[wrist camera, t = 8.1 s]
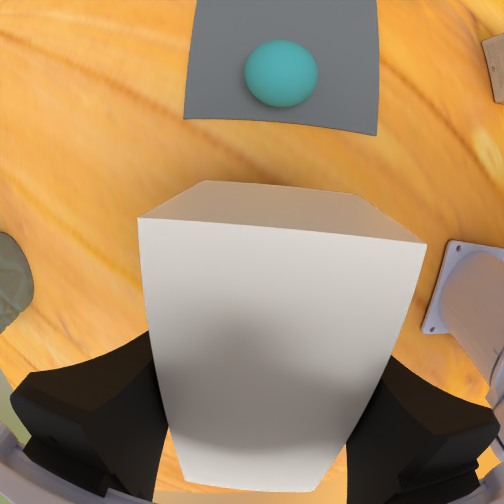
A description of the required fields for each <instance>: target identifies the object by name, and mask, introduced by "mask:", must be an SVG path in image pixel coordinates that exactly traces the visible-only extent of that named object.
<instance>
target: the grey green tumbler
mask: <svg viewBox="0 0 504 504" xmlns="http://www.w3.org/2000/svg"><path fill="white" fill-rule="evenodd" d="M33 294H34V285H33V278H32V274H31V270H30V267H29V264H28V261H27V259H26V257H25V255H24V253H23V251H22V250H21V247H20V246H19V245H18V244H17V243H16V241H15V240H14V239H13V238H11V237H10V236H9V235H7V234H4V233H3V232H0V334H1V333H2V332H3V331H4V330H5V328H6V327H7V326H9V325H10V323H12V322H13V321H14V320H15V319H16V318H17V317H18V315H19V313H20V312H22V311H24V310H25V309H26V308H27V307H28V305H29V304H30V303H31V301H32V298H33Z"/></svg>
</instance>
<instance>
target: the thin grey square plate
mask: <svg viewBox="0 0 504 504" xmlns="http://www.w3.org/2000/svg"><path fill="white" fill-rule="evenodd" d="M273 40H287V41H291V42H294V43H297V44H299V45H301V46H302V47H304V48H305V49H306V50H307V51H308V52H309V53H310V54H311V55H312V56H313V58H314V60H315V62H316V64H317V68H318V82H317V85H316V87H315V89H314V91H313V93H312V94H311V95H310V96H309V97H308V98H307V99H306V100H305V101H303V102H301V103H299V104H297V105H294V106H291V107H274V106H270V105H268V104H265V103H263V102H261V101H260V100H258V99H257V98H256V97H255V96H254V95H253V94H252V93H251V92H250V90H249V88H248V87H247V84H246V82H245V77H244V68H245V64H246V61H247V59H248V57H249V55H250V54H251V53H252V51H254V50H255V49H256V48H257V47H258V46H260V45H262V44H264V43H266V42H269V41H273ZM378 100H379V36H378V17H377V4H376V0H197V5H196V11H195V17H194V24H193V31H192V38H191V45H190V53H189V62H188V71H187V81H186V91H185V103H184V116H183V119H237V120H256V121H271V122H282V123H293V124H302V125H310V126H318V127H325V128H332V129H339V130H345V131H351V132H357V133H362V134H367V135H372V136H376V135H377V120H378Z"/></svg>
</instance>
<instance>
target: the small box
mask: <svg viewBox="0 0 504 504" xmlns="http://www.w3.org/2000/svg"><path fill="white" fill-rule="evenodd" d="M482 46H483V49H484V53H485V56H486V60H487V64H488V68H489V73H490V77H491V82H492V87H493V93H494V98H495V102H496V103H500V104H504V33H502V34H499V35H496V36H494V37H491V38H489V39H486V40H484V41H482Z"/></svg>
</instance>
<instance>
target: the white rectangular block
mask: <svg viewBox="0 0 504 504" xmlns="http://www.w3.org/2000/svg"><path fill="white" fill-rule="evenodd" d="M137 220H138V238H139V252H140V264H141V274H142V284H143V293H144V301H145V308H146V316H147V322H148V329H149V335H150V341H151V347H152V353H153V358H154V363H155V369H156V374H157V378H158V383H159V388H160V392H161V397H162V401H163V405H164V409H165V413H166V417H167V421H168V425H169V429H170V432H171V436H172V440H173V443H174V447H175V450H176V453H177V457H178V460H179V463H180V466H181V469H182V472H183V475H184V478H185V481H188V482H193V483H198V484H204V485H210V486H217V487H224V488H232V489H242V490H253V491H269V492H312V491H313V490H314V489H315V487H316V486H317V485H318V483H319V482H320V481H321V479H322V478H323V476H324V475H325V474H326V472H327V471H328V469H329V468H330V466H331V465H332V463H333V462H334V460H335V459H336V457H337V456H338V454H339V453H340V451H341V449H342V448H343V446H344V445H345V443H346V441H347V440H348V438H349V436H350V435H351V433H352V431H353V429H354V428H355V426H356V424H357V422H358V421H359V419H360V417H361V415H362V413H363V412H364V410H365V408H366V406H367V404H368V402H369V400H370V398H371V396H372V394H373V392H374V390H375V388H376V386H377V384H378V382H379V380H380V378H381V376H382V373H383V371H384V369H385V367H386V365H387V362H388V360H389V358H390V355H391V353H392V351H393V348H394V346H395V343H396V341H397V338H398V336H399V333H400V331H401V328H402V325H403V323H404V320H405V317H406V314H407V312H408V309H409V306H410V303H411V300H412V297H413V294H414V291H415V287H416V284H417V281H418V278H419V274H420V271H421V267H422V264H423V260H424V256H425V252H426V248H427V244H426V243H425V242H424V241H422V240H421V239H420V238H418V237H417V236H416V235H414V234H413V233H412V232H410V231H409V230H408V229H406V228H405V227H404V226H402V225H401V224H399V223H398V222H397V221H395V220H394V219H392V218H391V217H390V216H388V215H387V214H385V213H384V212H382V211H381V210H379V209H378V208H376V207H375V206H373V205H372V204H370V203H369V202H367V201H366V200H364V199H363V198H361V197H360V196H358V195H357V194H351V193H343V192H335V191H327V190H319V189H310V188H301V187H291V186H280V185H269V184H257V183H243V182H228V181H210V180H204V181H202V182H200V183H198V184H196V185H194V186H192V187H190V188H189V189H187V190H185V191H183V192H181V193H179V194H178V195H176V196H174V197H172V198H170V199H169V200H167V201H165V202H163V203H161V204H160V205H158V206H156V207H155V208H153V209H151V210H149V211H148V212H146V213H144V214H143V215H141V216H139V217H137Z"/></svg>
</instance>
